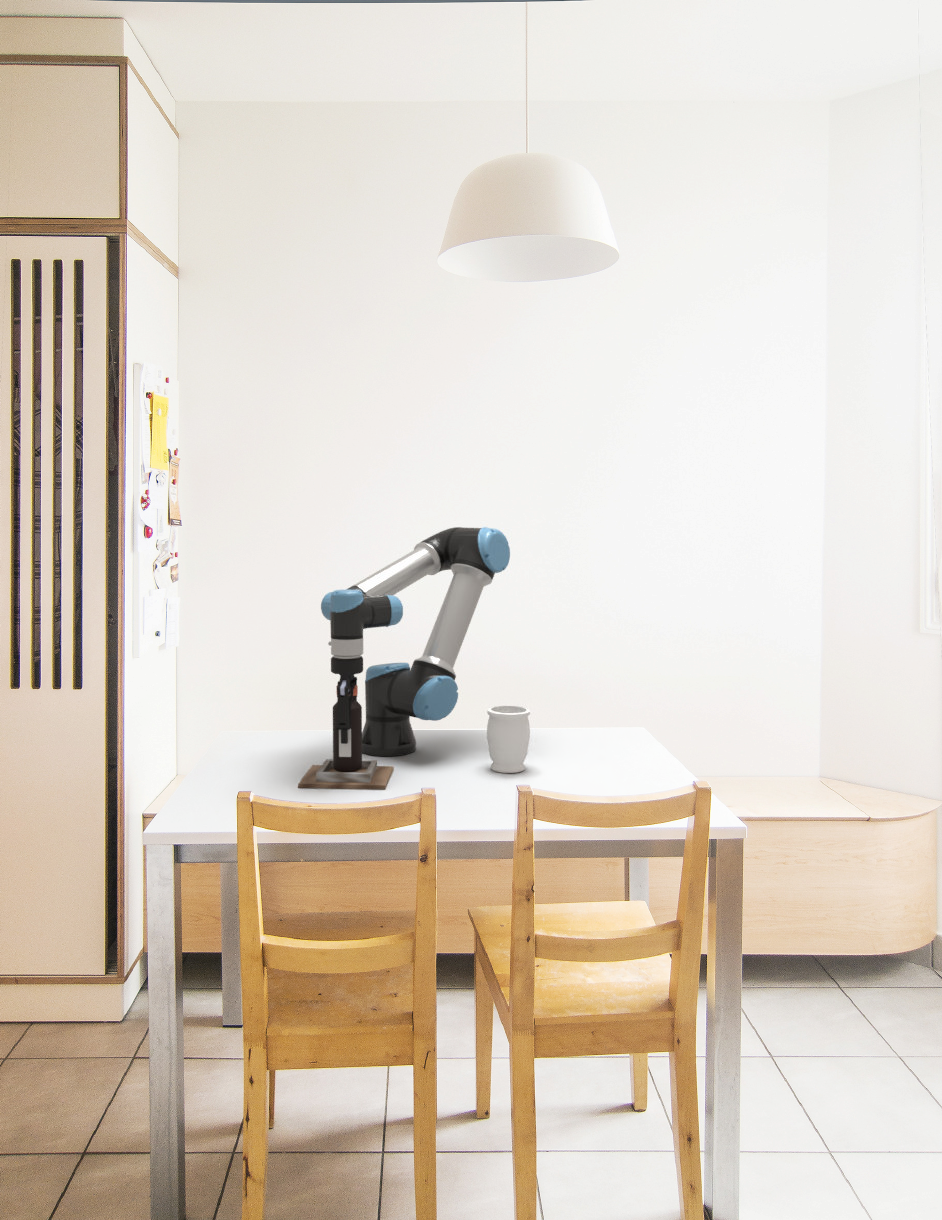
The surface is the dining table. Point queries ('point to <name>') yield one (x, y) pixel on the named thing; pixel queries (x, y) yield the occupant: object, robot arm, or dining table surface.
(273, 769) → the dining table surface
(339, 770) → the vinegar
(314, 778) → the tray
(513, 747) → the jar
